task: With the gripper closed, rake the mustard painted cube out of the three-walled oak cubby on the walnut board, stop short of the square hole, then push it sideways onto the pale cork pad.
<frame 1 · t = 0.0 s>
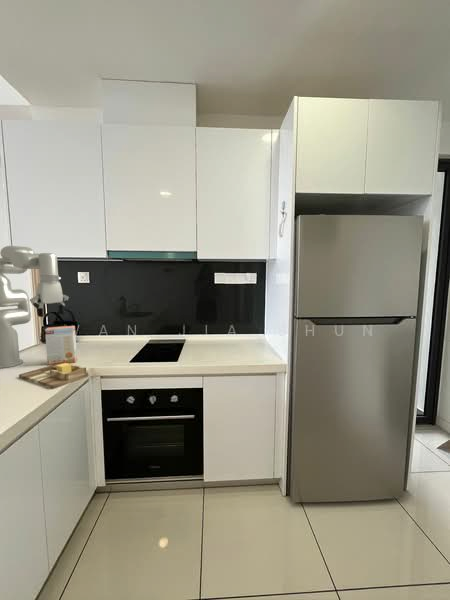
hand: (51, 315, 129), 31 cm above the countertop, fingers open, 9 cm apart
cracker box: (62, 362, 155), on the countertop
cubby: (68, 377, 132), resting on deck
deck: (54, 376, 133), on the countertop
cube: (64, 373, 133), point 2 cm above the countertop, touching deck
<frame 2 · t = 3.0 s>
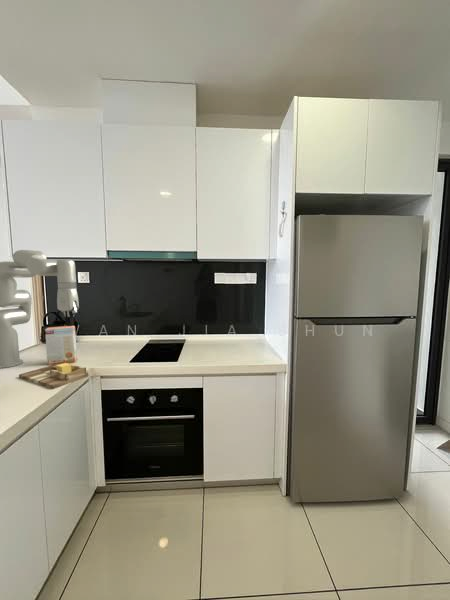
hand: (69, 324, 127), 27 cm above the countertop, fingers closed
nothing on the countertop moved.
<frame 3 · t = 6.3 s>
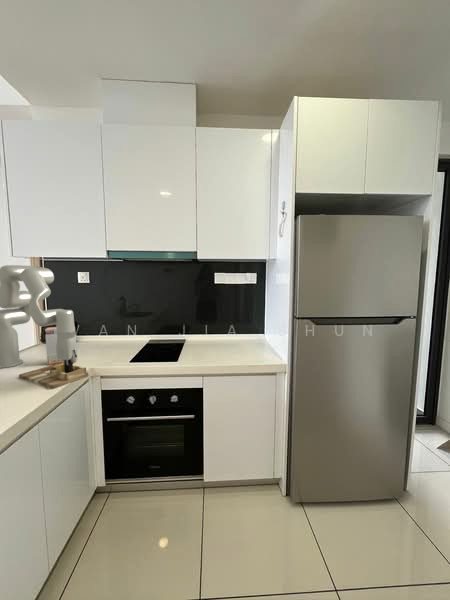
hand: (69, 372, 131), 3 cm above the countertop, fingers closed
cube: (64, 372, 133), point 2 cm above the countertop, tilted 9°, touching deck, gripper
everything else where it was.
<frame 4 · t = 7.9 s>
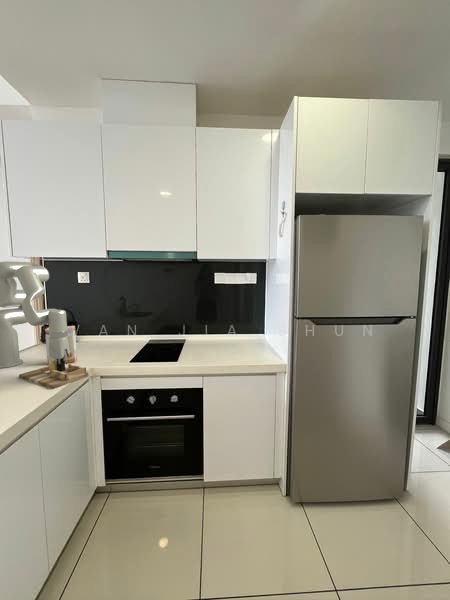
hand: (61, 370, 134), 3 cm above the countertop, fingers closed
cube: (57, 370, 136), point 2 cm above the countertop, tilted 20°, touching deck, gripper
everything else where it was.
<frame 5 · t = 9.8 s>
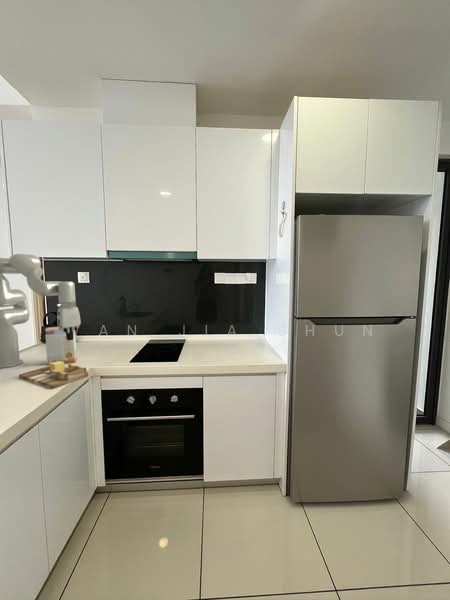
hand: (70, 339, 141), 16 cm above the countertop, fingers closed
cube: (57, 371, 136), point 2 cm above the countertop, touching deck
everything else where it was.
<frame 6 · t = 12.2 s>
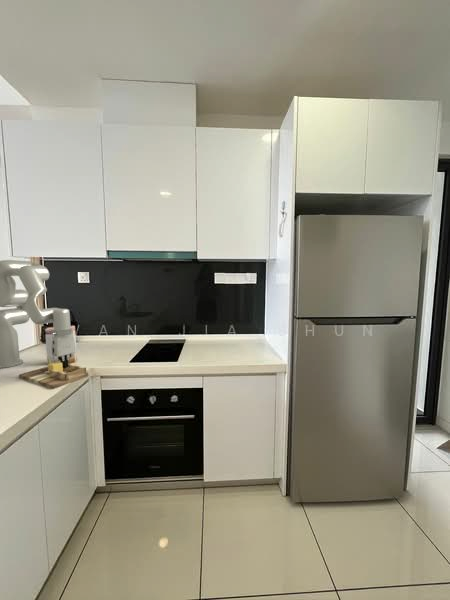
hand: (64, 367, 139), 3 cm above the countertop, fingers closed
cube: (55, 372, 135), point 2 cm above the countertop, touching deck, gripper
everything else where it was.
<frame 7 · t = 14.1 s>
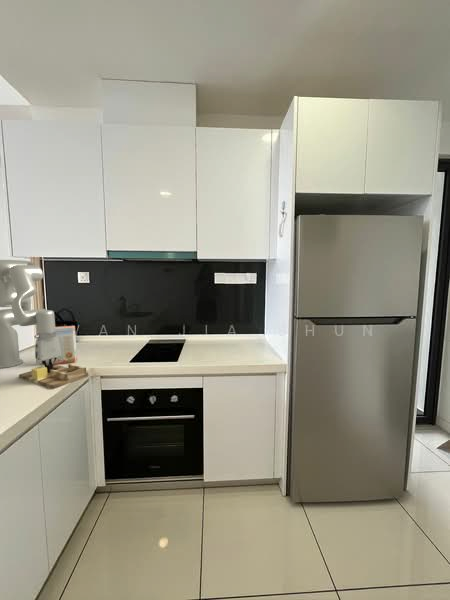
hand: (49, 372, 132), 3 cm above the countertop, fingers closed
cube: (39, 377, 128), point 2 cm above the countertop, touching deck, gripper
everything else where it was.
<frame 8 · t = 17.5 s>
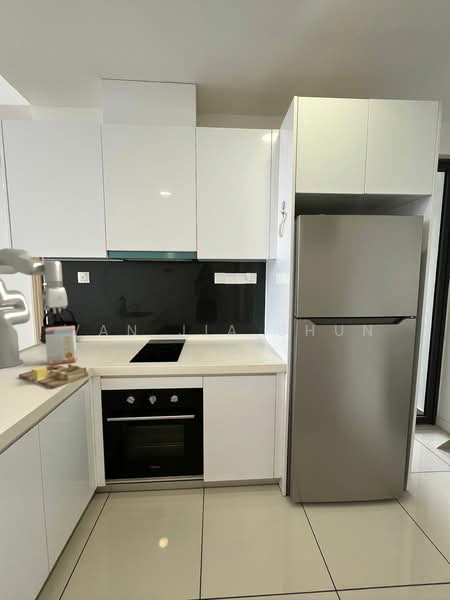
hand: (56, 320, 138), 27 cm above the countertop, fingers closed
cube: (39, 377, 128), point 2 cm above the countertop, touching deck
everything else where it was.
at the end: cube inside the target area (0.7 cm from its centre), point 1.6 cm above the countertop; cube tilted 0° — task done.
